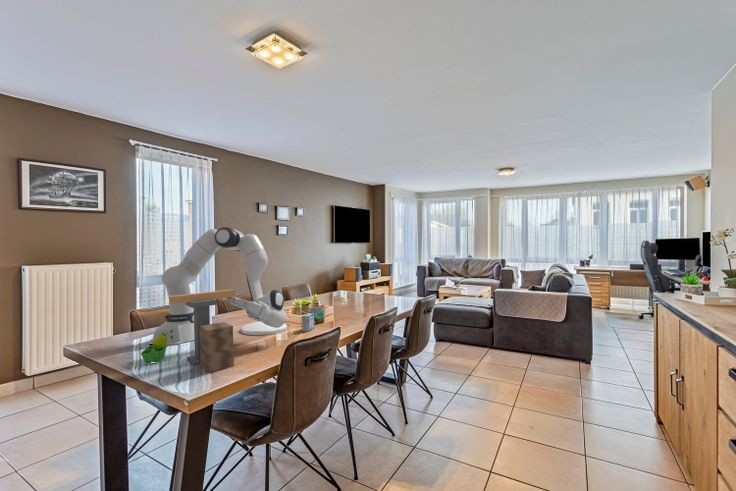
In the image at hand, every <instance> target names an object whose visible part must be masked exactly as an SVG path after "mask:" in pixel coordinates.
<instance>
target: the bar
mask: <svg viewBox="0 0 736 491" xmlns="http://www.w3.org/2000/svg"><path fill="white" fill-rule="evenodd" d="M227 297H233V298H234V297H236V290H235V289H223V290H213V291H204V292H196V293H195V292H193V293H191V294H185V295H175V296H169V297H168V305H169V304H178V303H186V302H195V301H203V300H211V299H216V300H217V299H219V300H220V299H226V298H227Z"/></svg>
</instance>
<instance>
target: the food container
mask: <svg viewBox="0 0 736 491" xmlns="http://www.w3.org/2000/svg"><path fill="white" fill-rule="evenodd" d="M308 310H309V311H308V312H309V313H313V314H314V325H321V324H324V323H325V315H326V314H325V312H326V310H327V309H326V306H325V305H324V304H321V305H320V306H316V307H309V309H308Z"/></svg>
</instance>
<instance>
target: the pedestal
mask: <svg viewBox="0 0 736 491" xmlns="http://www.w3.org/2000/svg"><path fill="white" fill-rule="evenodd" d="M199 332H200V365H199V366H200V367H201V368H202V369H204V370H205V371H206V372H207V373H208V374H210V373H212V372H217V371H221V370H224V369H229V368H232V367H235V355H234V353H235V352H234V326H233V325H231V324H229V323H227V322H225V321H223V322H222V321H221V322H217V323H210V324H209V325H203V326H199Z"/></svg>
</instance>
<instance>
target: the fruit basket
mask: <svg viewBox="0 0 736 491" xmlns="http://www.w3.org/2000/svg"><path fill="white" fill-rule="evenodd" d="M166 344H167V336H166V334H161V335H160V336H159V337H157V338H156V339H155V340H154V341H153V345H148V346H147V347H146V348H145V349H144V350H142V352H140V355H141V356H142V359H143V362H144V364H145V363H151V362H159V361H160V360H161V361H162V360H163V358H164V357H165V354H166V351H167V348H168V345H166ZM159 363H160V362H159Z"/></svg>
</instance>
